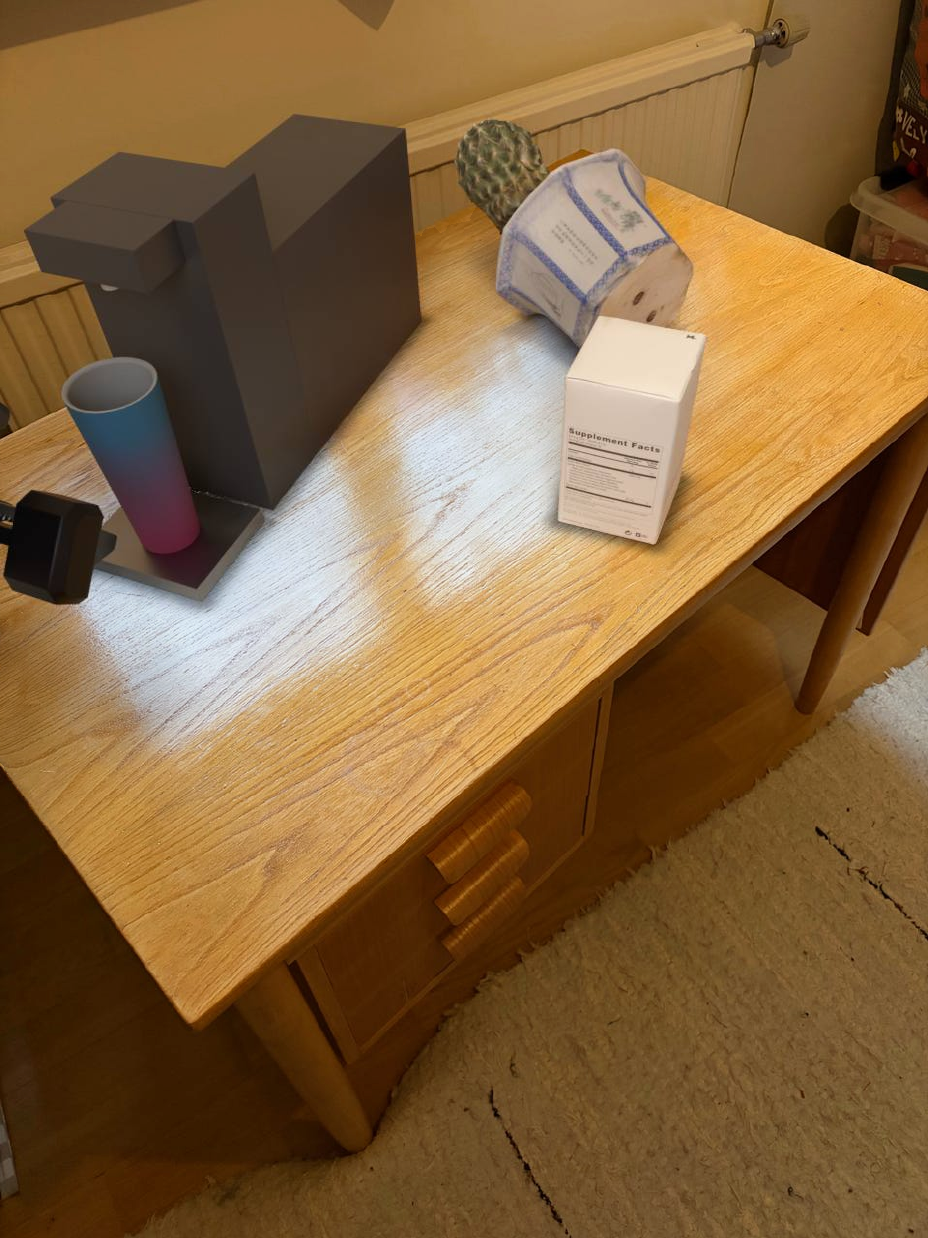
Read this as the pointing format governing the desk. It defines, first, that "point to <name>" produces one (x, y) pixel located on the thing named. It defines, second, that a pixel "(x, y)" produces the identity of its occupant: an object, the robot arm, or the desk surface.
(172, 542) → the cup
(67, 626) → the desk surface
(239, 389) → the coffee maker
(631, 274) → the potted plant
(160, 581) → the grey tray
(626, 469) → the white product box
